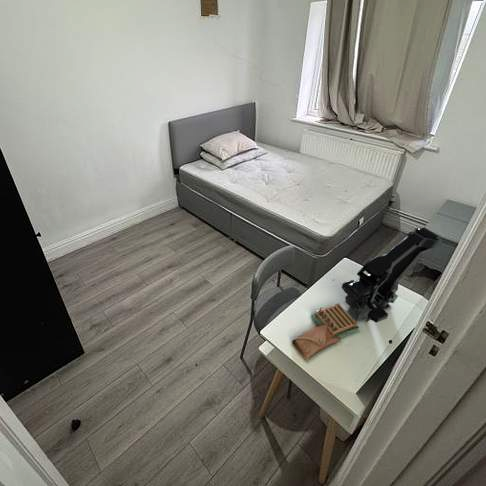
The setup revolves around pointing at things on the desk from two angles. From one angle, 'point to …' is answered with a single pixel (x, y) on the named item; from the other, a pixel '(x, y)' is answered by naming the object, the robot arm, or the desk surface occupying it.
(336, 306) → the wooden peg rack
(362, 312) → the black box
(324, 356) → the desk surface
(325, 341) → the sunglasses case
